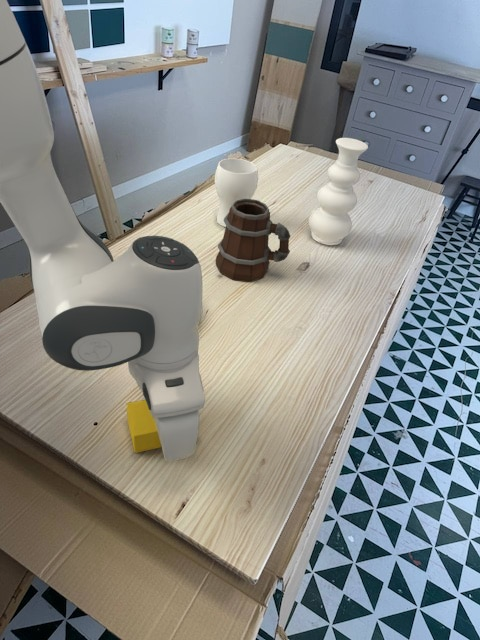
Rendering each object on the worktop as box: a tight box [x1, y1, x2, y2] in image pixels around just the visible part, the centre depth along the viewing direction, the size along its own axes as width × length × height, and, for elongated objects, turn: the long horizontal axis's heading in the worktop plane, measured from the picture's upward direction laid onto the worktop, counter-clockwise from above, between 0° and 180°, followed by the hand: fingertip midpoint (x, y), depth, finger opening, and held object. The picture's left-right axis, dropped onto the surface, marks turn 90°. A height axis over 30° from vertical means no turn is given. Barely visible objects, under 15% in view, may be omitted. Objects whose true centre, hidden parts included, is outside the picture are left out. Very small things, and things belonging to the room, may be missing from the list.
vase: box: [308, 137, 369, 246], centre depth 113 cm, size 11×11×25 cm
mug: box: [215, 198, 291, 283], centre depth 101 cm, size 16×12×15 cm
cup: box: [214, 157, 259, 228], centre depth 117 cm, size 11×11×15 cm
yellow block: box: [126, 399, 162, 454], centre depth 68 cm, size 9×6×4 cm, turn 110°
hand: (161, 422), depth 68 cm, fingers open, 6 cm apart
